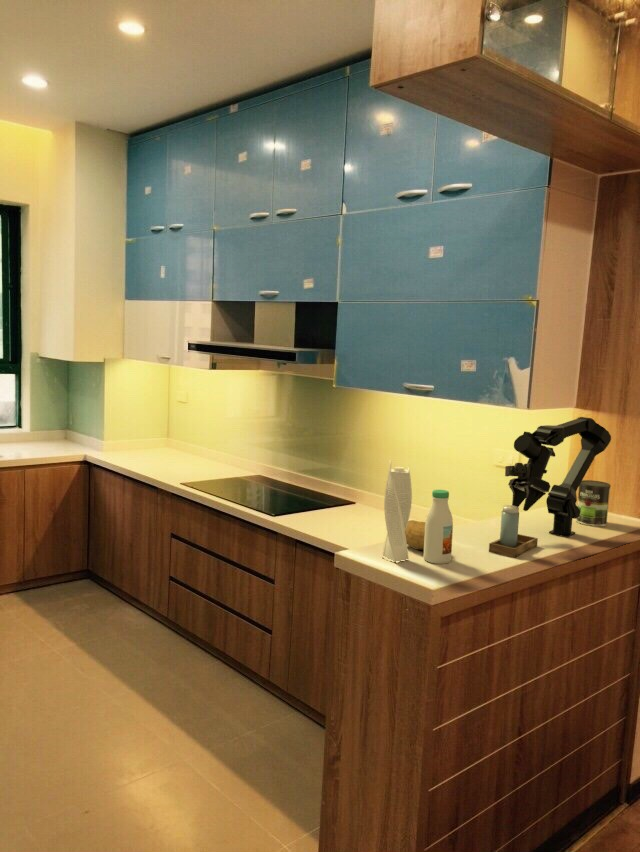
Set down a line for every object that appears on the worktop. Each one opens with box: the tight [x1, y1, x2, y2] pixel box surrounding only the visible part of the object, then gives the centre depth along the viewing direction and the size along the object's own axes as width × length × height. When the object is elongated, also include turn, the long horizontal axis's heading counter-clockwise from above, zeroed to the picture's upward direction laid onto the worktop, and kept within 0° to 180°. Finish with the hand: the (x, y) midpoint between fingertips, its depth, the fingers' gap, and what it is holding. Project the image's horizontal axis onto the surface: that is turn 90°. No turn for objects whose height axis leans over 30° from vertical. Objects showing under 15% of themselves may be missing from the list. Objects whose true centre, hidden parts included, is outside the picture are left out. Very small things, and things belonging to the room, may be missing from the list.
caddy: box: [488, 533, 538, 559], centre depth 216 cm, size 16×8×3 cm, turn 140°
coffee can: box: [575, 479, 612, 527], centre depth 249 cm, size 10×10×14 cm
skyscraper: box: [382, 459, 413, 562], centre depth 201 cm, size 8×8×28 cm
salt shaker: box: [499, 504, 520, 548], centre depth 212 cm, size 5×5×13 cm
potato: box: [405, 519, 426, 551], centre depth 213 cm, size 10×14×8 cm
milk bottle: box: [423, 489, 454, 565], centre depth 201 cm, size 8×8×20 cm
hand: (518, 510), depth 221 cm, fingers open, 9 cm apart
